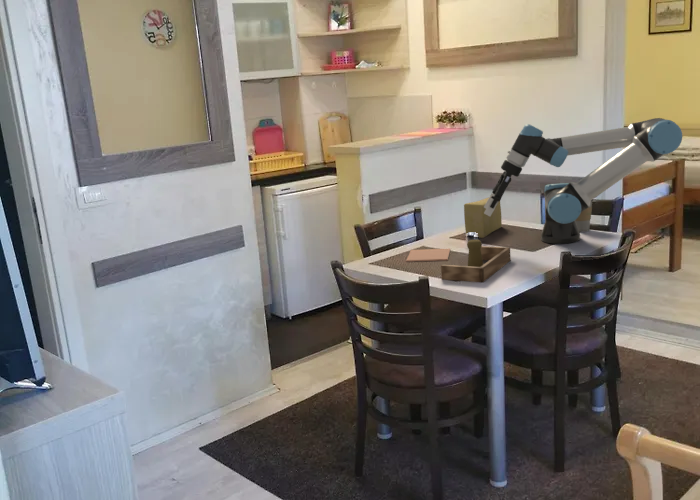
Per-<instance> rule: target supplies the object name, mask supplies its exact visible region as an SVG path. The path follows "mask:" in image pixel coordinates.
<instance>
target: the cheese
mask: <svg viewBox="0 0 700 500" xmlns="http://www.w3.org/2000/svg"><path fill="white" fill-rule="evenodd" d="M489 197H490V196H489ZM489 197H486V198H483V199H481V200H477V201H473V202H467V203H464V204H463V213H464V228H465V229H464V230H465V234H466V233H468V232H476V233H478V236H479V238H478V239H484V238H486V237H488V235H490V234H492V232H495V231H497V230H499V229H501V228H502V207H501V200H500V201H499V202H498V204H497V206H496V207H495V209H494V211H493V213H492V215H491V216H488V215H486V214H484V212H485V210H486V208H484V206H485V204H486V202H487V201H488V199H489Z"/></svg>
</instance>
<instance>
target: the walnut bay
mask: <svg viewBox="0 0 700 500" xmlns="http://www.w3.org/2000/svg"><path fill="white" fill-rule="evenodd" d="M481 255H482V260H483V261H487V262H485V263H483V265H482V266H481V267H471V266H468V265H455V264H454V265H453V264H441V265H440V273H441V274H440V275H441V280H447V281H461V282H473V283H484V282H486V281H487V280H488V279H489V278H491V277H492V276H493V275H494V274H495V273H497V272H498V271H499V270H501V269H503V267H504V266H505V265H507V264H508V263H509V262H511V247H508V246H507V247H506V246H505V247H504V246H484V245H482V247H481Z"/></svg>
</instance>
